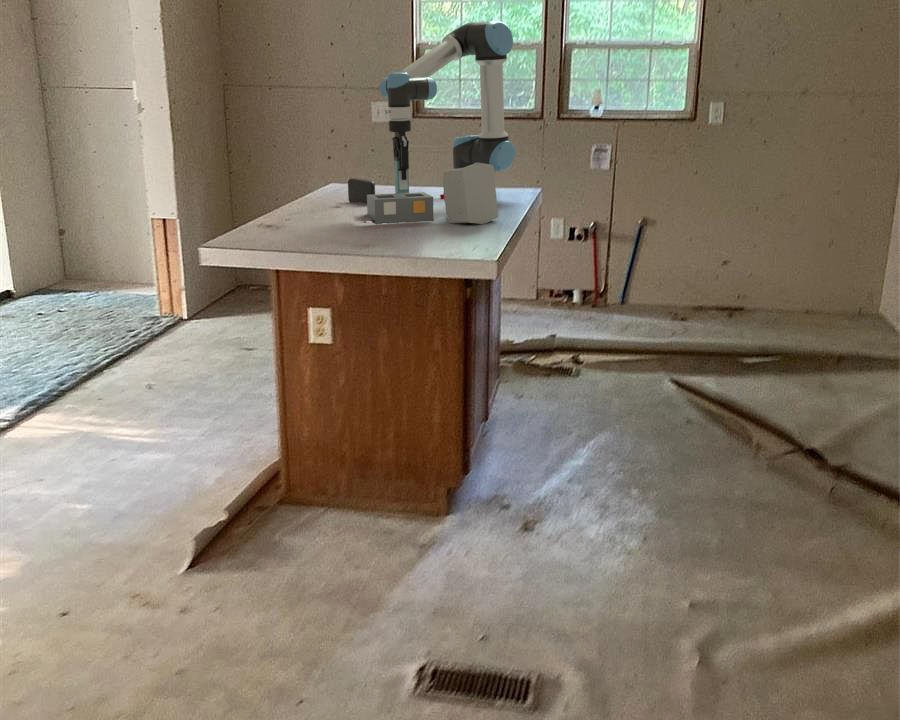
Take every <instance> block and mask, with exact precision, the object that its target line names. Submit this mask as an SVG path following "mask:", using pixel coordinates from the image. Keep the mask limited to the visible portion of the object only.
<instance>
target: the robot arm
mask: <svg viewBox="0 0 900 720" xmlns="http://www.w3.org/2000/svg"><path fill="white" fill-rule="evenodd" d="M513 45H514V38H513V32H512V30H511V28H510V27H509V26H508V24H506V23H505V22H504V21H503V22H502V21H500V20H499V21H498V20H490V21H471V22H467V23H464V24H463V25H461V26H459V27H456V29H454V30H452V31H451V32H449V33H448V34H446V35H445V36H444V37H443V38H442V39H441V42H440V43H438V44H437V45H436V46H434V47H433V48H432V49H431V50H428V52H426V53H425V54H423V55H422V56H421V57H419V58H418V59H416V60H415V61H413V62H412V63H411V64H409V65H408V66H406V67H405V68H403V69H402V70H401V71H400V72H389V73H388V74H387V76H386V77H384V78H382V79H381V81H380V83H379V93H380V94H381V96H382V97H383V98H385V99H387V106H388V108H387V110H386V113H387V114H388V119H389V120H388V130H389V132H391V133H394V136H393V137H392V140H391V141H392V147H393V149H392V152H393V158H394V157H399V164H400V169H398V171H399V182H400V190H402V189H408V181H407V169H408V170H410V169H409V168H410V166H409V165H410V161H409V158H410V157H409V156H410V155H409V143H410V141H409V139H408V137H407V135H406V132H408V133H409V132H411V130H412V125H411V124H412V123H411V122H412V121H411V120H410V119H411V116H412V115H411V114H412V113H411V101H428V100H432V99H433V98H435V97H436V95H437V92H438V86H437V85H438V84H437V82H436V81H435V79H434V78H432V76H433V75H435V74H436V73H437V72H439V71H440V70H441V69H443V68H444V67H446V66H448V64H450V63H451V62H453V61H459V60H460V59H461V58H463V57H467V56H474V57H475V58H474V59H475V60H474V61H475V62H476V63H477V64H478V66H479V82H480V83H479V84H480V88H479V89H480V110H481V112H480V113H481V119H480V120H481V132H480V133H479V134H477V135H476V134H475V135H466V136H457V137H455V138H454V139H453V143H452V145H453V146H452V161H453V165H452V166H453V168H452V169H458V168H465V167H467V166H470V165H472V164H475V163H484V164H490V165H493V166H494V173H496V172H505V171H507V170H508V169H509V168H511V166H512V164H513V163H514V161H515V158H516V148H515V145H514V143H512V142H511V141H510V140H509V138H510V137H509V134H508V132H507V131H506V130H505V105H504V104H505V101H504V63H505V62H507V59H508V57H507V56H508V54H509V53H510V52H511V51H512V48H513Z"/></svg>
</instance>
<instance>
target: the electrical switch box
mask: <svg viewBox="0 0 900 720" xmlns="http://www.w3.org/2000/svg"><path fill="white" fill-rule="evenodd" d="M442 186H443V188H442V190H443V194H440V195H439V198H440V200H444V208H445V214H446V217H447V219H448V222H449V224H468V223H469V224H478V225H479V224H480V225H484V224H487V223H489V222H491V221H493V220H495V219H496V220H497V219H498V217H499V209H498V208H499V207H498V201H497V197H498V196H497V190H496V189H497V186H496V179H495V172H494V166H493V165H490V164H484V163H475V164H472V165H470V166H467V167H465V168H458V169H453V168H452V169H451V168H450V169H445V170H443V176H442Z"/></svg>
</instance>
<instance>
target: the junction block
mask: <svg viewBox="0 0 900 720" xmlns="http://www.w3.org/2000/svg"><path fill="white" fill-rule="evenodd" d="M366 206H367V208H366V211H367V213H366V214H367V215H368V216H369V217H370V218H372V219H370V220H371V221H370V222H372V223H373V224H374V223H375V225H383V224H382V223H387V224H399V222H405V223H419V222H420V223H421V222H422V223H423V222H434V196H432V195H430V194H428V193H426V192H423V191H422V192H421V191H419V192H409V193H379V194H378V193H377V194H376V193H375V194H373V195H367V203H366Z"/></svg>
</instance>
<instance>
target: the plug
mask: <svg viewBox="0 0 900 720" xmlns="http://www.w3.org/2000/svg"><path fill="white" fill-rule="evenodd" d="M393 166H394V190H395V191H394V192H395V193H410V180H409V177H410V176H409V169H407V181H408V189H402V190H400V182H399V171H398V169H400V164H399V157H394V156H393ZM395 193H394V194H395Z"/></svg>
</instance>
